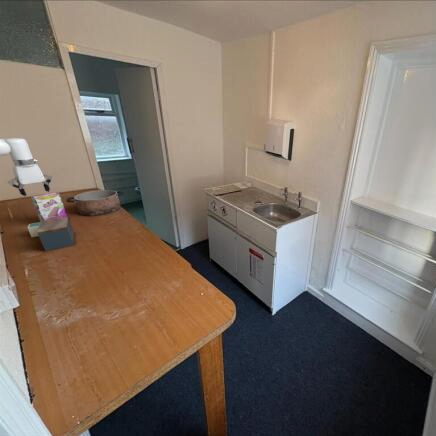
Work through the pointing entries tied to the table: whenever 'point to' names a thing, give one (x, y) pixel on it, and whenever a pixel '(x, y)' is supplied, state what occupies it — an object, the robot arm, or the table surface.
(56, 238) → the grey box shape
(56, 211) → the candy bar box
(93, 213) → the cooking pot
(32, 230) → the cube
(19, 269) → the table surface
